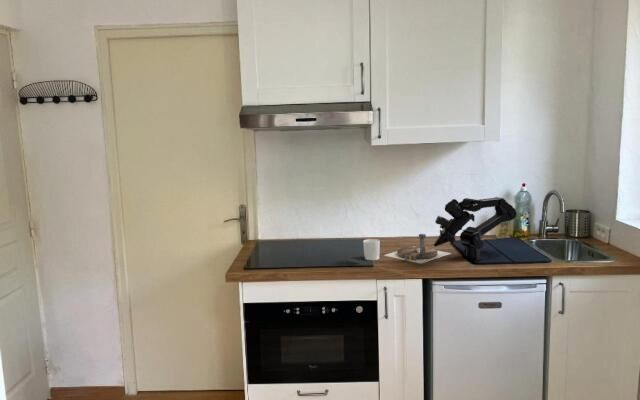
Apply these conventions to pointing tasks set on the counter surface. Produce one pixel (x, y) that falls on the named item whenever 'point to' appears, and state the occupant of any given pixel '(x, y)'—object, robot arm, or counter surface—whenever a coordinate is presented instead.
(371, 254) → the white cup
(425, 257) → the dial
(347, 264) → the counter surface
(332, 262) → the counter surface
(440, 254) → the base
